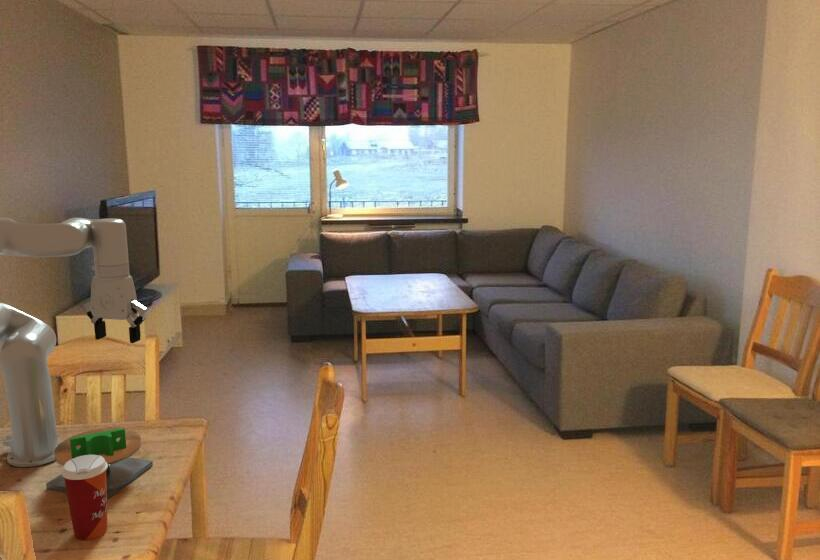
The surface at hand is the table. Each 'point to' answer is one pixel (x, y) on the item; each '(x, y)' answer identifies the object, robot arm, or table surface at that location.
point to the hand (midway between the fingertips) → (118, 339)
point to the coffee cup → (87, 495)
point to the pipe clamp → (98, 443)
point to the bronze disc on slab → (118, 465)
